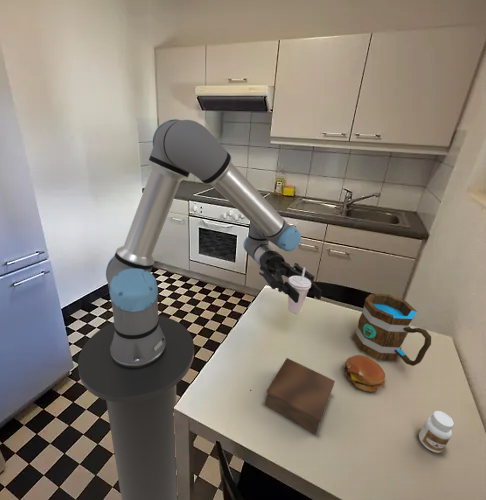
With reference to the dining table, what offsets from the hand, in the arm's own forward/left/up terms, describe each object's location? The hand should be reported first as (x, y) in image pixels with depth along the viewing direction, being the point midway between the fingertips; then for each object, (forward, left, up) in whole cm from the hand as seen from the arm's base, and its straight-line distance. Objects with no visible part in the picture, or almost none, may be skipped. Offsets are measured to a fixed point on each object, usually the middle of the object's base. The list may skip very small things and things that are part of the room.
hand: (308, 296), depth 74 cm
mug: (+22, +17, -20) cm, 34 cm away
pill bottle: (+33, -8, -20) cm, 39 cm away
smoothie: (-4, +3, -8) cm, 9 cm away
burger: (+18, +2, -20) cm, 27 cm away
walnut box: (+6, -15, -20) cm, 25 cm away
